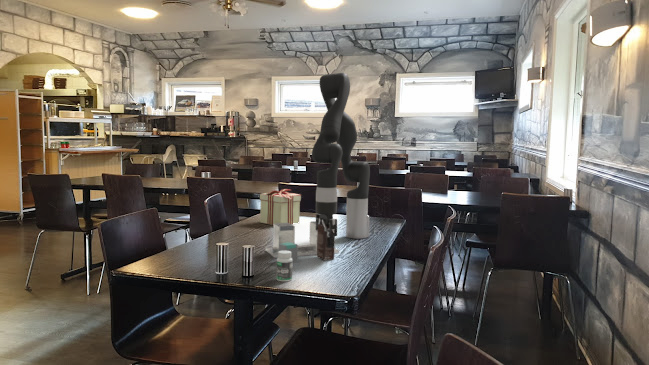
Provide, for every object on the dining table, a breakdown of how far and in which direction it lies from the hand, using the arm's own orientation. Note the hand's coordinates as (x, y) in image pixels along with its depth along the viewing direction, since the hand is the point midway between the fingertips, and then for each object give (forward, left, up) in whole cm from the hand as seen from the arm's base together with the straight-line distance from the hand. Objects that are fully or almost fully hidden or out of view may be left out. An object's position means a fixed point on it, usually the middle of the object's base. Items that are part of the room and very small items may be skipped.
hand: (325, 245), depth 170 cm
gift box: (-8, -76, -5) cm, 77 cm away
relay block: (+14, 0, -5) cm, 15 cm away
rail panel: (+4, -12, -5) cm, 14 cm away
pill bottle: (+22, +21, -5) cm, 31 cm away
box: (0, 0, -5) cm, 5 cm away
